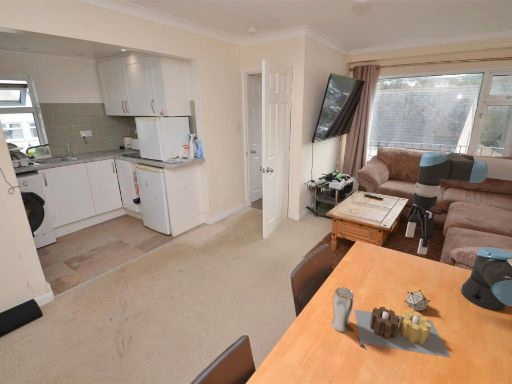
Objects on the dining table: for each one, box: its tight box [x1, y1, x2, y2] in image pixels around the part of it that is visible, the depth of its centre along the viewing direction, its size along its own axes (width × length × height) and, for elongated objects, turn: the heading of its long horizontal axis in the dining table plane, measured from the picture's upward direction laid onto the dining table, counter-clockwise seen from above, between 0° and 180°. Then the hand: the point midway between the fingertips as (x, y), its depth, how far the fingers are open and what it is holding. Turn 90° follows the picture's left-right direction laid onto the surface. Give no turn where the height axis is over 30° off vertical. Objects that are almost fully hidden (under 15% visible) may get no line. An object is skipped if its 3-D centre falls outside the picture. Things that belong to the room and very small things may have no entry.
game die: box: [403, 288, 431, 312], centre depth 107 cm, size 9×8×10 cm
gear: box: [399, 310, 431, 344], centre depth 94 cm, size 9×9×6 cm
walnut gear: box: [370, 306, 400, 339], centre depth 96 cm, size 9×9×6 cm
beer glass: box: [331, 286, 355, 333], centre depth 98 cm, size 7×7×15 cm
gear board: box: [354, 309, 452, 358], centre depth 95 cm, size 28×16×8 cm, turn 79°
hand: (415, 244), depth 105 cm, fingers open, 13 cm apart
